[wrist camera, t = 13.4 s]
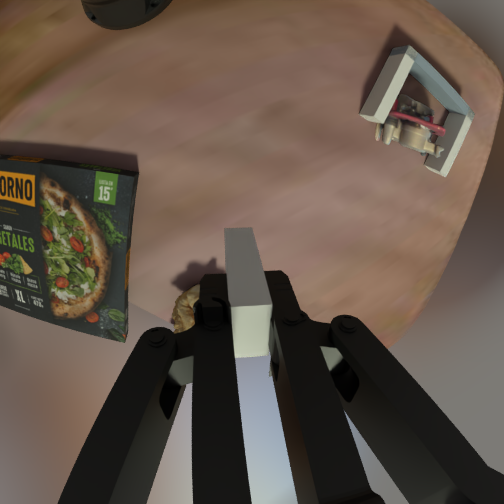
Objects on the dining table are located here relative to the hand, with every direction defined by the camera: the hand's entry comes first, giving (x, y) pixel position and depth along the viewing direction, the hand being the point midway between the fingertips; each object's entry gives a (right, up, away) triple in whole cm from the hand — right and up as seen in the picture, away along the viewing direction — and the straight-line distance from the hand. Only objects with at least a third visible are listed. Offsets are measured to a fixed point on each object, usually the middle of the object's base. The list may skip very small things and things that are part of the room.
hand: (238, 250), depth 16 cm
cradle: (+29, +24, +24) cm, 45 cm away
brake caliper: (+27, +23, +25) cm, 43 cm away
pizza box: (-38, +1, +29) cm, 48 cm away
